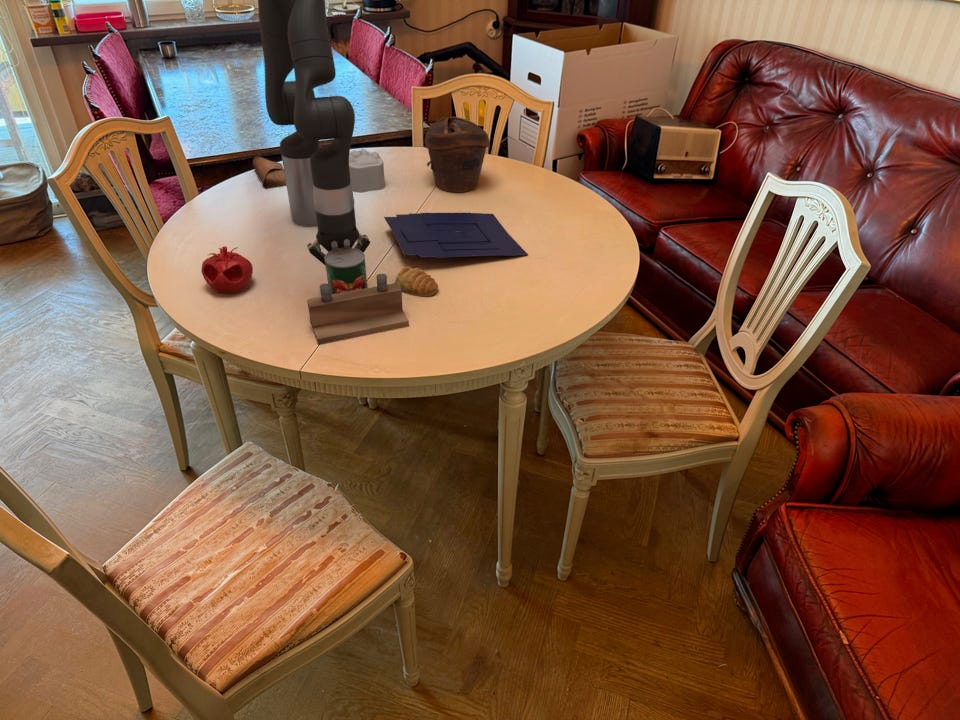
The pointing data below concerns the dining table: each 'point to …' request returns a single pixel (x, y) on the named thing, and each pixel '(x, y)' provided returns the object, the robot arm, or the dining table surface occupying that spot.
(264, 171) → the sunglasses case
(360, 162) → the lumpy-topped squat cylinder
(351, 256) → the canned tomato
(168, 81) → the dining table surface
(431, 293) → the pastry
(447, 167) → the case
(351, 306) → the bench stop
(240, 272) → the pomegranate
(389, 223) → the navy folded cloth
